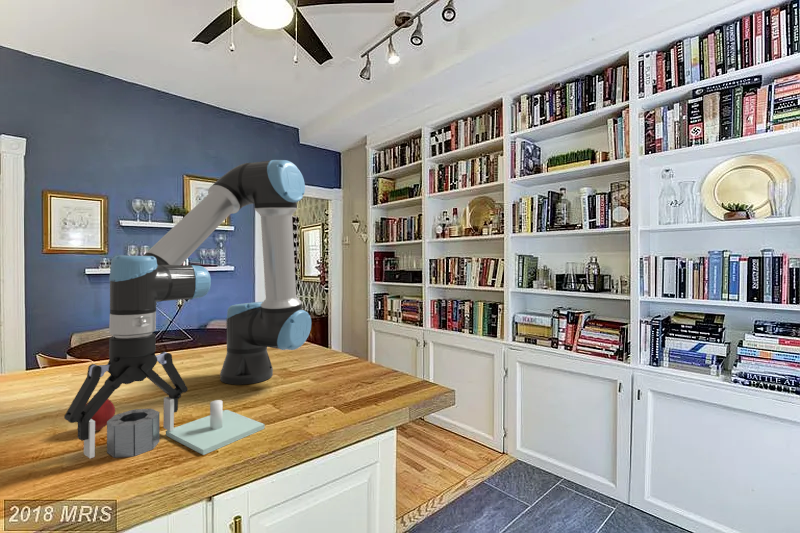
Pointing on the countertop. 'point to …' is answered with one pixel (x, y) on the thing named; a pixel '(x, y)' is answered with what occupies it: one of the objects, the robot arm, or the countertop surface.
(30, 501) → the countertop surface
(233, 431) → the post block
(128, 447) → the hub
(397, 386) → the countertop surface
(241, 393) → the countertop surface
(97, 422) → the onion
